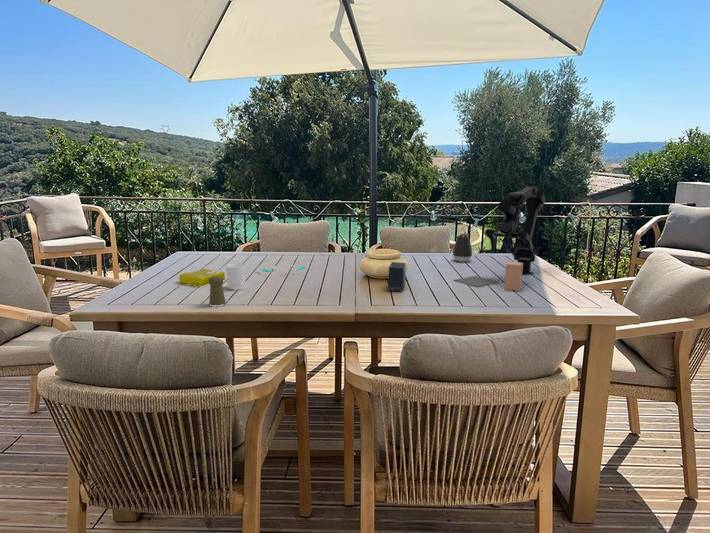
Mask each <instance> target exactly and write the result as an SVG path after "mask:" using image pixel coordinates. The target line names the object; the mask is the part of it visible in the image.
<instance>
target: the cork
mask: <svg viewBox="0 0 710 533" xmlns="http://www.w3.org/2000/svg"><path fill="white" fill-rule="evenodd" d="M209 284H210V285H209V287H210V288H209V303H208V305H209V304H211V305H221V304H225V303H226V298H225V293H224V288H223V284H224V281H223V278H222V277H221V276H212V277H210V278H209ZM226 304H227V303H226Z"/></svg>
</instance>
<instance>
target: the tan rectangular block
mask: <svg viewBox="0 0 710 533" xmlns="http://www.w3.org/2000/svg"><path fill="white" fill-rule="evenodd" d="M522 271H523V263H520V262H517V261H507V262H506V264H505V274H504V287H503V288H504V289H503V290H504V291H512V290H515V292H520V291H521V289H522V283H523V274H522Z"/></svg>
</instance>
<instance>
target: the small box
mask: <svg viewBox="0 0 710 533" xmlns="http://www.w3.org/2000/svg"><path fill="white" fill-rule="evenodd" d="M406 267H407V265H406V262H405V263H404V262H395V261H392V262H391V263H390V264H389V266H388V278H387V279H388V283H387V285H388V286H387V291H388V292H397V293H403V291H404V289H405V287H406V272H407V271H406V270H407V268H406Z"/></svg>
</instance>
